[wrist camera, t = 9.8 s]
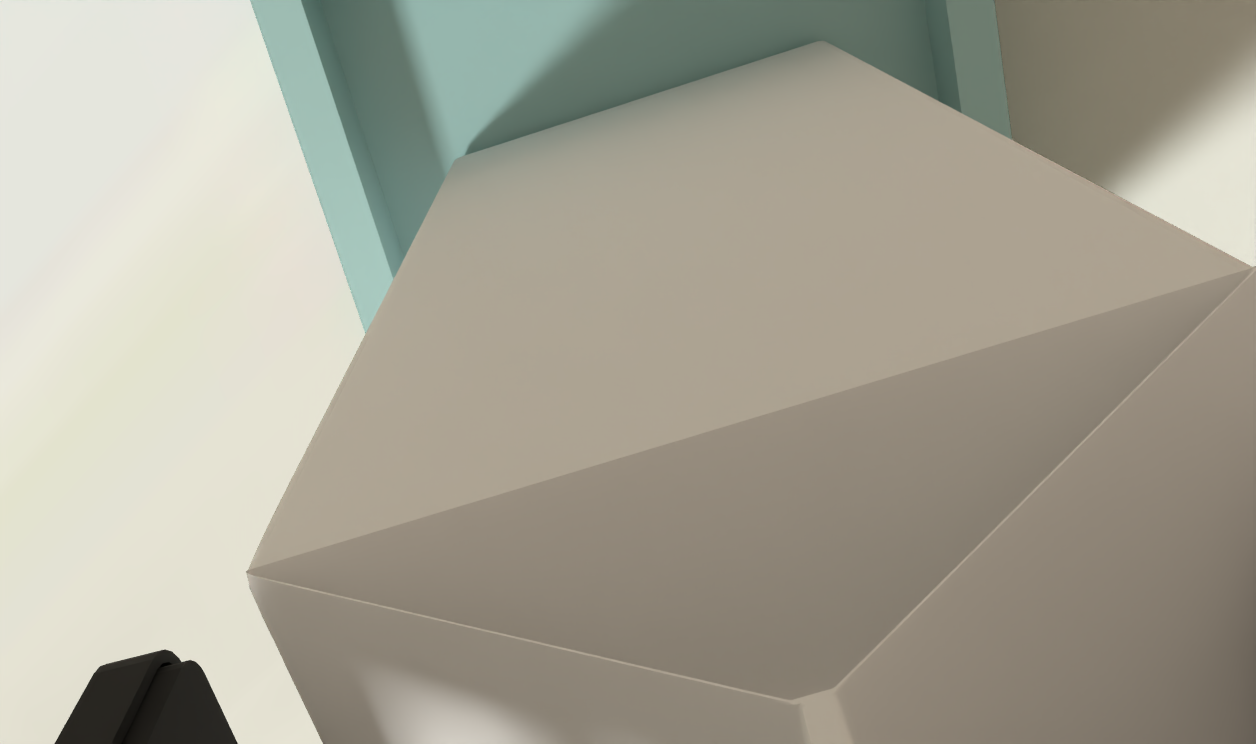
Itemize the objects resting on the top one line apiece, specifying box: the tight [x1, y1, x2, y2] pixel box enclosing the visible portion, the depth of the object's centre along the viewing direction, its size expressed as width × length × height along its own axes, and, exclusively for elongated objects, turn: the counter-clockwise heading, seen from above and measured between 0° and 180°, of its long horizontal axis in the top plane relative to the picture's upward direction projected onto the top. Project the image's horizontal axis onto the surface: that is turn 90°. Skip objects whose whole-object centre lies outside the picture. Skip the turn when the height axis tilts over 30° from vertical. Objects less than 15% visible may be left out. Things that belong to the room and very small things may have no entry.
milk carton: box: [246, 41, 1256, 744], centre depth 14 cm, size 7×7×19 cm
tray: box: [250, 0, 1012, 333], centre depth 23 cm, size 16×12×2 cm
